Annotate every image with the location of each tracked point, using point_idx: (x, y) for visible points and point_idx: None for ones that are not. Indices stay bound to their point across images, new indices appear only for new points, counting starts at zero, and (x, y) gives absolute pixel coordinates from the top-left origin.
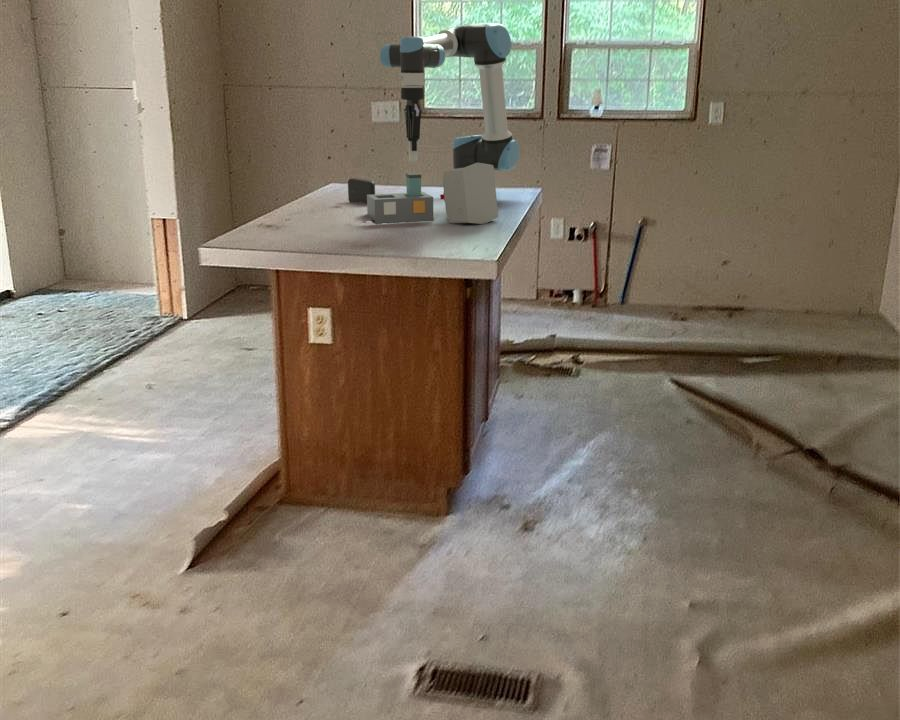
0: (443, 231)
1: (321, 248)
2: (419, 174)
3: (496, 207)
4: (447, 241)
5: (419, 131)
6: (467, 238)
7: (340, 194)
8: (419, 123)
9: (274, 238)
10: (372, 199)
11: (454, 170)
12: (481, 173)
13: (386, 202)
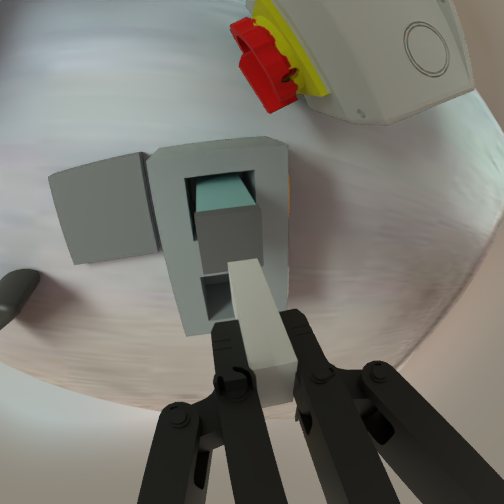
0: (400, 155)
1: (410, 336)
2: (251, 217)
3: None
4: (460, 180)
5: (431, 409)
6: (456, 140)
7: None
8: (476, 459)
9: None
10: None
11: (440, 103)
12: None
13: (288, 289)
